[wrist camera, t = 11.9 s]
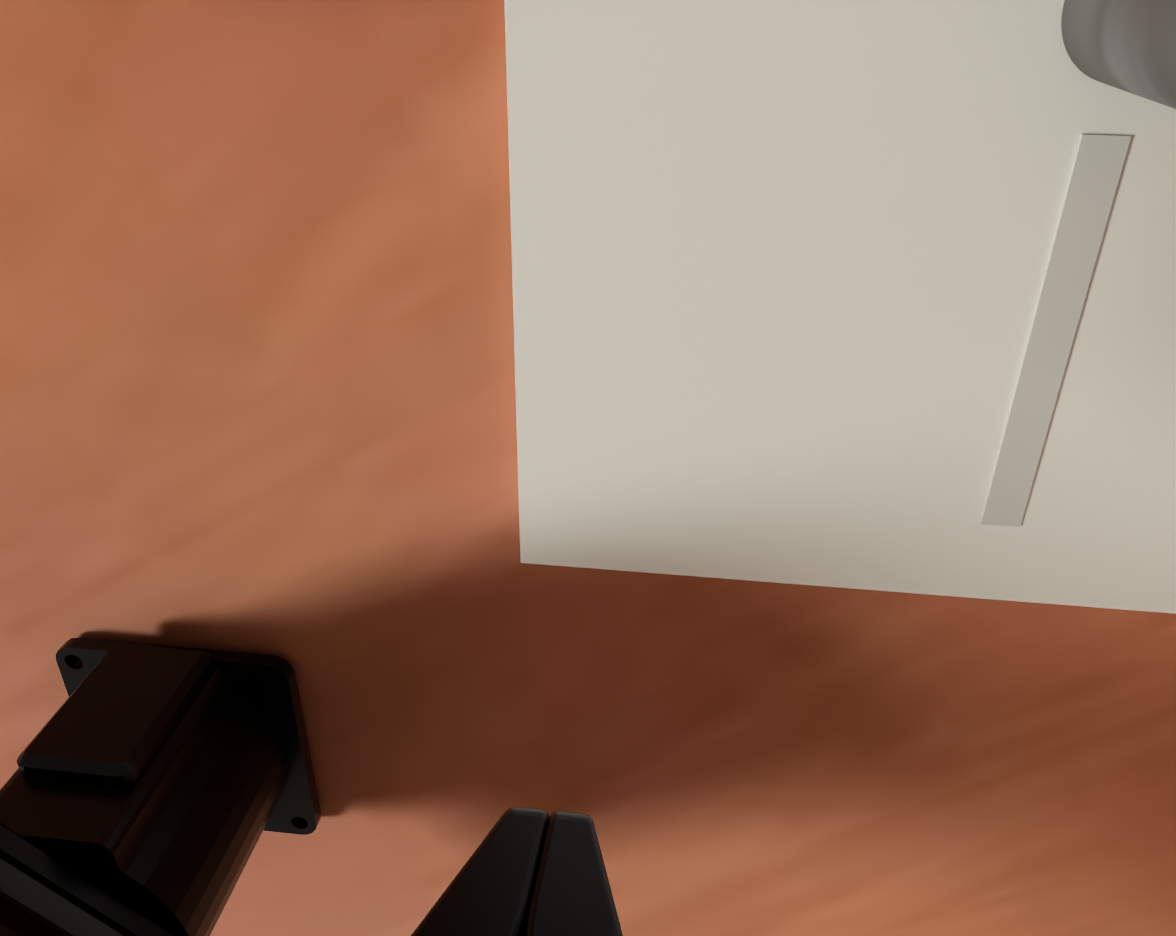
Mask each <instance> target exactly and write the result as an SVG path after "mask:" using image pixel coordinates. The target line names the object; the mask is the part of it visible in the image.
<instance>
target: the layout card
mask: <svg viewBox="0 0 1176 936" xmlns="http://www.w3.org/2000/svg"><path fill="white" fill-rule="evenodd" d="M504 1H505V36H506V71H507V106H508V141H509V176H510V211H511V246H512V281H513V317H514V352H515V387H516V422H517V457H518V492H519V527H520V562H521V563H529V564H542V565H555V566H568V567H581V568H594V569H606V570H619V571H632V572H645V573H658V574H671V575H684V576H697V577H710V578H723V579H735V580H748V581H761V582H774V583H787V584H800V585H813V586H826V587H839V588H852V589H865V590H877V591H890V592H903V593H916V594H929V595H942V596H955V597H968V598H981V599H994V600H1007V601H1019V602H1032V603H1045V604H1058V605H1071V606H1084V607H1097V608H1110V609H1123V610H1136V611H1149V612H1161V613H1174V614H1176V109H1174V108H1171V107H1168V106H1166V105H1163V104H1160V103H1157V102H1154V101H1152V100H1149V99H1146V98H1143V97H1140V96H1138V95H1135V94H1132V93H1129V92H1127V91H1124V90H1121V89H1118V88H1115V87H1113V86H1110V85H1107V84H1104V83H1101V82H1099V81H1096V80H1094V79H1092V78H1090V77H1088V76H1087V75H1085V74H1084V73H1083V72H1082V71H1080V70H1079V69H1078V68H1077V67H1076V65H1075V64H1074V63H1073V62H1072V60H1071V59H1070V57H1069V55H1068V53H1067V51H1066V48H1065V46H1064V42H1063V38H1062V29H1061V19H1062V11H1063V5H1064V1H1065V0H504Z"/></svg>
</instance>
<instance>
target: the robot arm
mask: <svg viewBox="0 0 1176 936" xmlns="http://www.w3.org/2000/svg"><path fill="white" fill-rule="evenodd" d="M56 661H57V664H58V666H59V669H60V672H61V675H62V678H63V681H64V684H65V687H66V689H67V692H68V695H69V698H68V699H67V700H66V701H65V703H64V704H63V705H62V706H61V707H60V708H59V710H58V711H57V712H56V713H55V714H54V715H53V717H52V718H51V719H50V720H49V721H48V723H47V724H46V725H45V726H44V727H43V728H42V730H41V731H40V732H39V733H38V734H37V735H36V737H35V738H34V739H33V740H32V741H31V742H30V744H29V745H28V746H27V747H26V748H25V750H24V751H23V752H22V753H21V754H20V755H19V757H18V759H17V764H18V766H19V768H18V769H17V771H16V772H15V773H14V774H13V775H12V777H11V778H10V779H9V780H8V781H7V783H6V784H5V785H4V786H3V787H2V788H1V790H0V936H210V934H211V932H212V930H213V928H214V926H215V924H216V922H217V920H218V918H219V916H220V915H221V913H222V911H223V909H224V907H225V905H226V903H227V901H228V899H229V897H230V895H231V893H232V891H233V889H234V887H235V885H236V883H237V881H238V879H239V877H240V875H241V873H242V871H243V869H244V867H245V865H246V863H247V861H248V859H249V857H250V855H251V853H252V851H253V849H254V847H255V845H256V843H257V841H258V839H259V837H260V835H261V833H262V831H263V830H265V831H274V832H284V833H293V834H310V833H312V832H313V831H314V830H315V829H316V827H317V825H318V822H319V820H320V818H321V811H320V806H319V800H318V795H317V790H316V784H315V779H314V774H313V768H312V763H311V757H310V752H309V747H308V741H307V736H306V731H305V725H304V720H303V715H302V709H301V704H300V698H299V693H298V688H297V682H296V677H295V672H294V669H293V667H292V665H291V664H290V663H289V662H288V661H287V660H285V659H283V658H281V657H278V656H274V655H264V654H253V653H241V652H230V651H219V650H208V649H197V648H185V647H174V646H163V645H152V644H141V643H129V642H118V641H107V640H96V639H85V638H71V639H70V640H68V641H67V642H66V643H65V644H64V645H63V646H62V647H61V648H60V649H59V650H58V652H57V654H56ZM270 673H272V674H274V675H276V676H277V677H275V676H273V675H271V674H270ZM411 936H623V935H622V931H621V927H620V923H619V919H618V915H617V912H616V908H615V904H614V900H613V896H612V892H611V888H610V885H609V881H608V877H607V873H606V869H605V865H604V861H603V858H602V854H601V850H600V846H599V842H598V838H597V834H596V831H595V827H594V823H593V820H592V819H591V817H590V816H589V815H587V814H580V813H571V812H561V811H557V812H554V813H552V814H551V816H549V814H548V812H546V811H544V810H541V809H532V808H522V807H512V808H510V809H508V810H507V811H506V812H505V813H504V814H503V815H502V816H501V818H500V819H499V820H498V822H497V823H496V824H495V825H494V827H493V828H492V829H491V831H490V832H489V833H488V835H487V836H486V837H485V839H484V840H483V841H482V843H481V844H480V845H479V847H478V848H477V849H476V851H475V852H474V853H473V855H472V856H471V857H470V859H469V860H468V861H467V862H466V864H465V865H464V866H463V868H462V869H461V870H460V872H459V873H458V874H457V876H456V877H455V878H454V880H453V881H452V882H451V884H450V885H449V886H448V888H447V889H446V890H445V892H444V893H443V894H442V895H441V897H440V898H439V899H438V901H437V902H436V903H435V905H434V906H433V907H432V909H431V910H430V911H429V913H428V914H427V915H426V917H425V918H424V919H423V921H422V922H421V923H420V925H419V926H418V927H417V929H416V930H415V931H414V932H413V934H412V935H411Z"/></svg>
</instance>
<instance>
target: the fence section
mask: <svg viewBox="0 0 1176 936" xmlns="http://www.w3.org/2000/svg"><path fill="white" fill-rule="evenodd" d="M1061 29H1062V38H1063V42H1064V46H1065V48H1066V51H1067V53H1068V55H1069V57H1070V59H1071V60H1072V62H1073V63H1074V64H1075V65H1076V67H1077V68H1078V69H1079V70H1080V71H1082V72H1083V73H1084V74H1085V75H1087V76H1088V77H1090V78H1092V79H1094V80H1096V81H1099V82H1101V83H1104V84H1107V85H1110V86H1113V87H1115V88H1118V89H1121V90H1124V91H1127V92H1129V93H1132V94H1135V95H1138V96H1140V97H1143V98H1146V99H1149V100H1152V101H1154V102H1157V103H1160V104H1163V105H1166V106H1168V107H1171V108H1174V109H1176V0H1065V1H1064V5H1063V11H1062V19H1061Z"/></svg>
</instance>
